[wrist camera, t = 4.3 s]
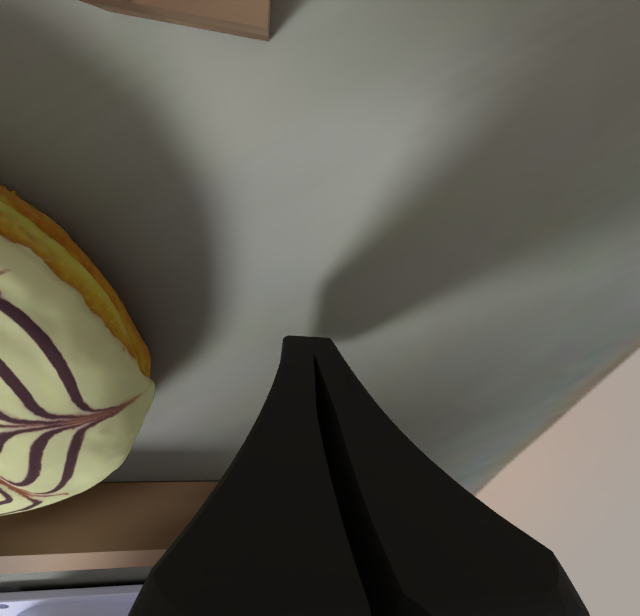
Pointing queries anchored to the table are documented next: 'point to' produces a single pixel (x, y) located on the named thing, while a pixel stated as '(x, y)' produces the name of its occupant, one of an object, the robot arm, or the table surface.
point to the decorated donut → (61, 365)
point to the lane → (124, 498)
